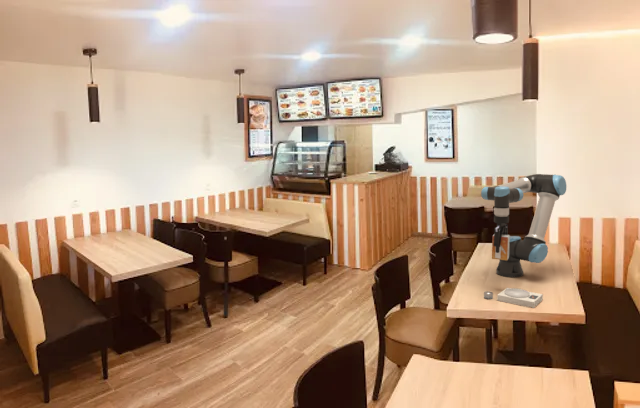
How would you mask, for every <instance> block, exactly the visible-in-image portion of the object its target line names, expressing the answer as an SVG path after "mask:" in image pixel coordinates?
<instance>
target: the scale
mask: <svg viewBox="0 0 640 408" xmlns="http://www.w3.org/2000/svg"><path fill="white" fill-rule="evenodd" d="M543 296H544V294H543V293H539V292H538V293H537V292H533V291H528V290H526V289H523V288H522V289H521V288H514V287H513V288H510V287H506V288H505V289H503V290H502V291H500V292H499V293H498V294H496V300H497V301H498V302H503V303H508V304H512V305H518V306H522V307H526V308H531V307H532V309H534V308H535V306H536V307H537V306H538V305H539V304H540V303H541V302H542V301H543V298H544V297H543Z"/></svg>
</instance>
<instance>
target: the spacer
mask: <svg viewBox="0 0 640 408" xmlns="http://www.w3.org/2000/svg"><path fill="white" fill-rule="evenodd" d="M483 298H484V299H485V300H493V299H494V292H493V291H491V290H490V291H489V290H486V291H484V292H483Z"/></svg>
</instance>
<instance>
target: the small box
mask: <svg viewBox="0 0 640 408" xmlns="http://www.w3.org/2000/svg"><path fill="white" fill-rule="evenodd" d="M510 236H511V235H510V234H508V235H502V237H501V244H500V247H501V258H500V259H499V258H495V246H493V245H494V234H493V235H492V240H491V241H492V242H491V244H492V245H491V259H492V260H499V261H500V260H508V258H509V241H510Z"/></svg>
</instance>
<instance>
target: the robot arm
mask: <svg viewBox="0 0 640 408" xmlns="http://www.w3.org/2000/svg"><path fill="white" fill-rule="evenodd" d="M566 192H567V181H566V178H565V177H564V176H563V175H560V174H547V173H546V174H545V173H544V174H541V173H537V174H530V175H525V176H522V177H519V178H518V179H517V180H515V181H514V180H512V181H510V182H507V183H503V184H499V185H495V186H484V187H483V188H482V189H481V192H480V195H481V198H482V199H483V200H487V201H494V206H493V214H494V216H493V222H494V223H495V224H496V227H494V229H493V232H494V234H493V235H494V245H493V246H495V258H499V259H500V258H501V247H500V244H501V237H502V235H509V234H508V233H509V229H508V227H509V225H508V224H509V222H510V216H509V215H510V204H511V203H518V202H520V201H522V200H523V199H524V193H534V194H537V195H538V197H539V198H538V203H537V205H536V208H535V212H534V216H533V217H532V218H533V219H532V221H531V225H530V228H529V232H528V234H527V235H525V236H524V238H523V240H522V238H521V236H519V235H510V241H509V258H508V260H499V259H498V260H499V261H498V264H497V267H496V273H495V274H497V275H498V276H502V277H505V278H519V277H522V276H523V275H524V270H523V268H522V264H521V261H525V262H530V263H535V264H540V263H542V262H543V261H544V260H545V259H546V257H547V255H548V253H549V251H548V249H549V247H548V245H547V241H546V240H545V237H546V232H547V230H548V226H549V223H550V219H551V216H552V215H553V214H552V213H553V210H554V207H555V204H556V203H555V202H557V201H559V199H560V196H563V195H565V194H566Z"/></svg>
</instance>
